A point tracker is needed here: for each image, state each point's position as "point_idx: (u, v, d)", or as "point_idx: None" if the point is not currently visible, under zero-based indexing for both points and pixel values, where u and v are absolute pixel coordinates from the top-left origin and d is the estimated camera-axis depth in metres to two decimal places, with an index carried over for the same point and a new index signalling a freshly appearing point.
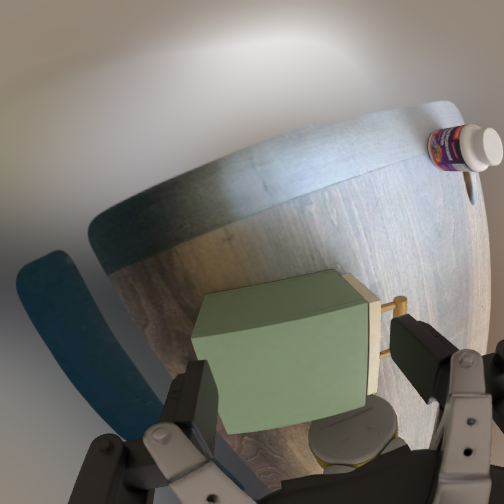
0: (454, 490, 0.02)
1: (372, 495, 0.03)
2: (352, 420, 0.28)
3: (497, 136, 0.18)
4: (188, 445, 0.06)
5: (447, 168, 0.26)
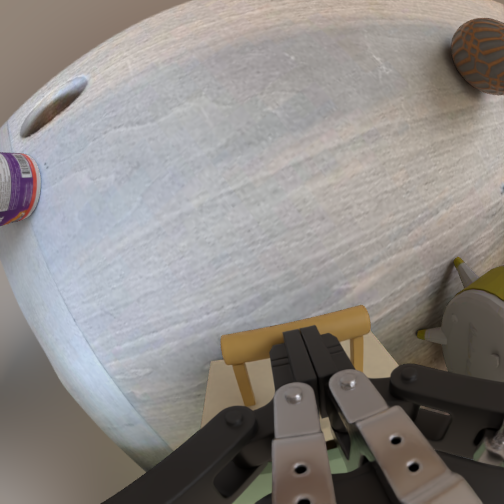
0: None
1: (372, 495, 0.03)
2: (473, 361, 0.13)
3: None
4: (313, 411, 0.06)
5: (23, 197, 0.14)
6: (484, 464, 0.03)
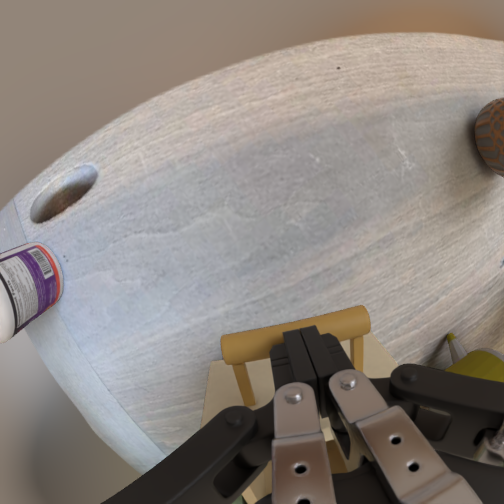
0: None
1: (372, 495, 0.03)
2: None
3: None
4: (313, 411, 0.06)
5: (49, 296, 0.15)
6: (484, 464, 0.03)
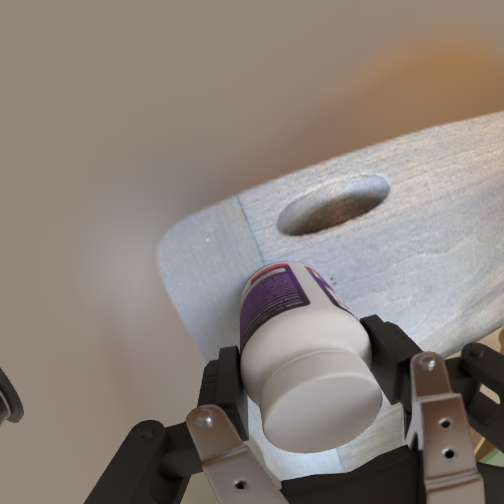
0: (445, 494, 0.02)
1: (372, 495, 0.03)
2: None
3: (287, 405, 0.07)
4: (229, 429, 0.06)
5: None
6: None
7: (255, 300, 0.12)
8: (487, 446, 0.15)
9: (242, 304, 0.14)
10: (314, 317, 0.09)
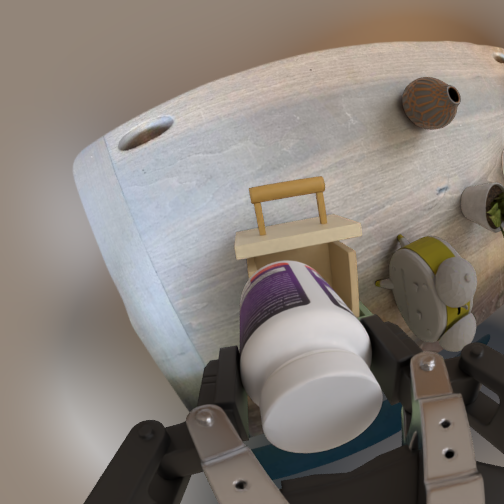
0: (446, 494, 0.02)
1: (372, 495, 0.03)
2: (408, 294, 0.27)
3: (287, 405, 0.07)
4: (229, 429, 0.06)
5: None
6: None
7: (255, 300, 0.12)
8: None
9: (242, 303, 0.14)
10: (314, 316, 0.09)
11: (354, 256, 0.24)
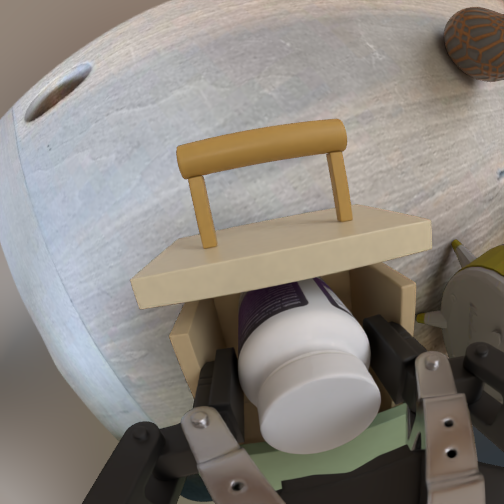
0: (446, 493, 0.02)
1: (372, 495, 0.03)
2: None
3: (284, 406, 0.07)
4: (224, 431, 0.06)
5: None
6: None
7: (253, 300, 0.12)
8: None
9: (240, 304, 0.14)
10: (312, 317, 0.09)
11: (413, 295, 0.10)
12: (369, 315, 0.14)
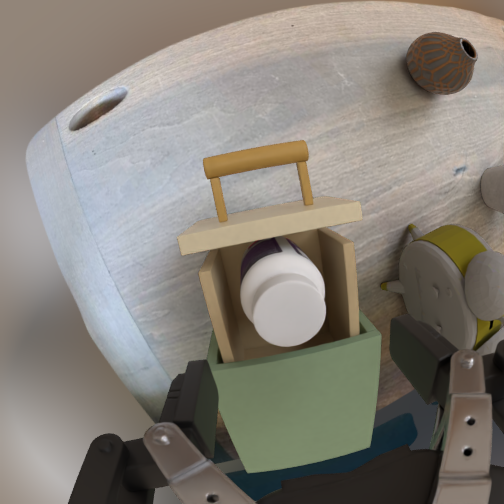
0: (454, 490, 0.02)
1: (372, 495, 0.03)
2: (424, 301, 0.20)
3: (266, 300, 0.14)
4: (188, 445, 0.06)
5: None
6: None
7: (250, 255, 0.19)
8: None
9: (242, 262, 0.21)
10: (283, 257, 0.16)
11: (352, 250, 0.17)
12: (331, 271, 0.21)
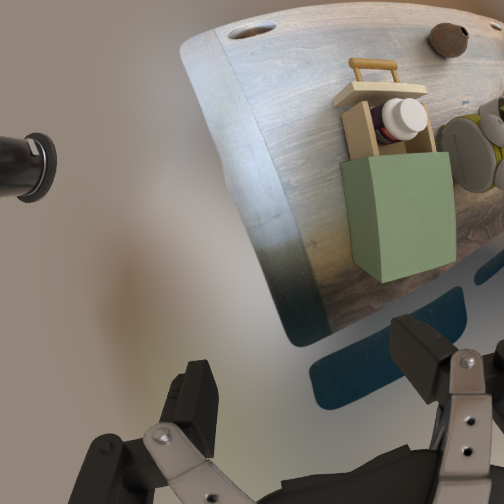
0: (454, 490, 0.02)
1: (372, 495, 0.03)
2: (461, 154, 0.29)
3: (404, 104, 0.23)
4: (188, 445, 0.06)
5: None
6: None
7: (376, 107, 0.29)
8: None
9: None
10: None
11: (425, 106, 0.26)
12: None
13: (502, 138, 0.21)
